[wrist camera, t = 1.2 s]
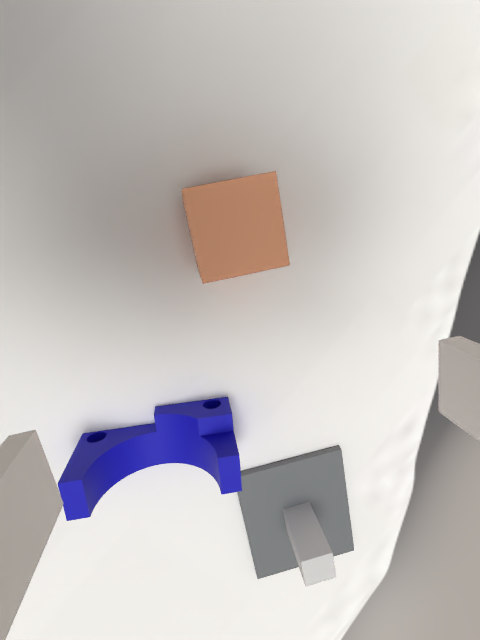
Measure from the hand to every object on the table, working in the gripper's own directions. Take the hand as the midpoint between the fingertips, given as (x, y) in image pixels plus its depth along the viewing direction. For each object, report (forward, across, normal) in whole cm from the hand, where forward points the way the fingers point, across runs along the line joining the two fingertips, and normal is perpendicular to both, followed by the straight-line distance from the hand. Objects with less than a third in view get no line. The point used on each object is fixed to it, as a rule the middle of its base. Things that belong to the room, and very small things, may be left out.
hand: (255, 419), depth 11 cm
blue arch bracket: (+17, -6, -10) cm, 21 cm away
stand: (+17, +4, -21) cm, 27 cm away
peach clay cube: (+17, +2, +6) cm, 18 cm away
